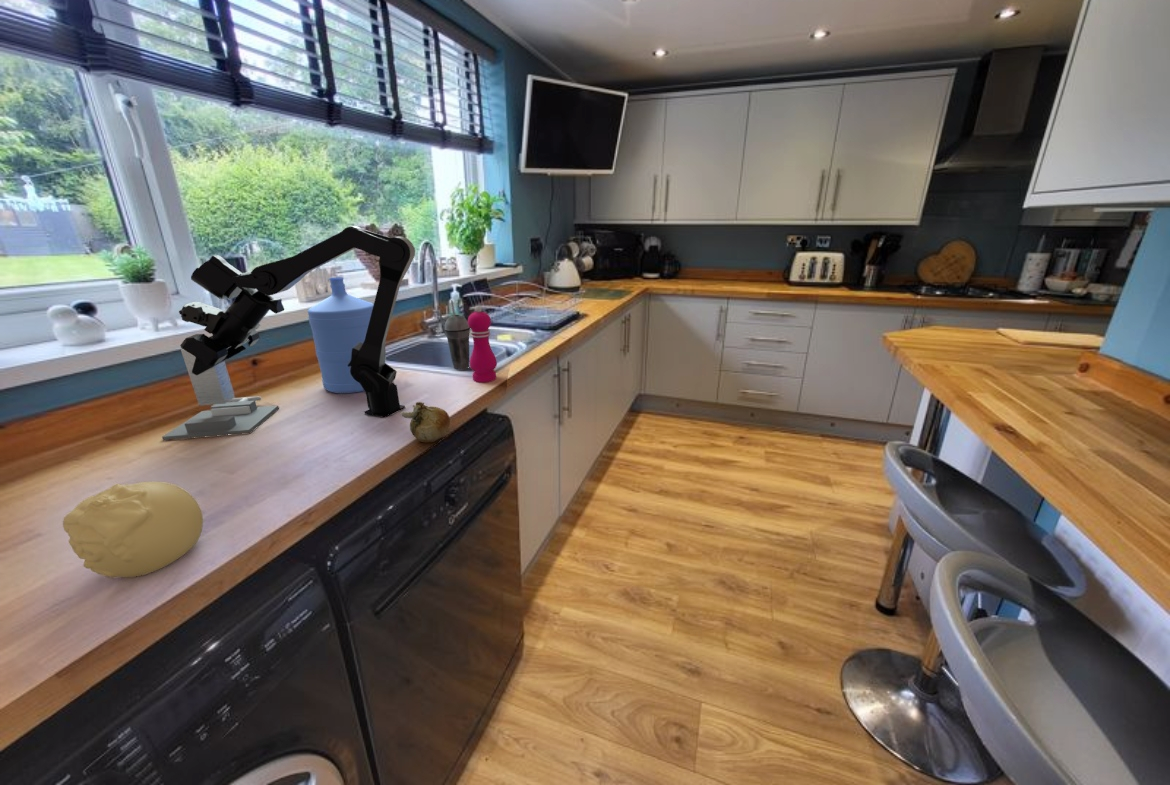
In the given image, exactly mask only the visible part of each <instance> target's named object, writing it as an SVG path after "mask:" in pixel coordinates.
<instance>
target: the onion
mask: <svg viewBox="0 0 1170 785" xmlns="http://www.w3.org/2000/svg"><path fill="white" fill-rule="evenodd" d="M412 408H413V410H412V411H401V412H400V415H401V416H400V417H402V418H405V419H411V420H410V422H409V430H410V432H411V434H412V436H413V437H414V438H415V439H416V440H417V441H419V442H422V443H433V442H436V441H438V440H440V439H441V438H443V437H444V436H445V435H446V434H447V432H449V431H448V430H449V429H450V424H451V418H450V415H449V414H448V412H447V411H446V410H445V409H443V408H441V407H437V406H432V405H431V406H427V405H425V402H422V401H418V402H415V405H414V404H413V405H412Z"/></svg>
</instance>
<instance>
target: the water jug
mask: <svg viewBox="0 0 1170 785" xmlns="http://www.w3.org/2000/svg"><path fill="white" fill-rule="evenodd" d="M328 279H329V281H330V289H331V295H330V296H328V297H327V298H325V299H323V300H321V301H319V302H318V303H316V304H315V305H313V306H311V307H310V308H308V310H307V315H308V323H309V326H310V329H311V334H312V338H313V341H314V347H315V355H316V358H317V360H318V364H319V365H318V366H319V369H320V374H321V381H322V385H323V388H324V389H325V390H326V391H328V392H330V393H334V394H351V393H352V394H353V393H361V392H365V391H364V389H363V387H362V386H361V384H360V383H359V382H357V381H356V380H355V379H354V378H353V377H352V376H351V373H350V368H351V366H349V367H348V364H349V363H350V361H351V355H352V349H353V348H354V347H355V346H356V345H357V344H358V343H359V342H361V343H364V341H365V337H366V333H367V329H368V325H369V321H370V317H371V313H372V309H373V305H374V302H370V301H367V300H364V299H362V298H359V297H355V296H353V295H351V294H349V293H348V292H347V291H346V285H345V283H344V277H343V276H342V277H341V276H340V277H339V276H338V277H337V276H336V277H329V278H328Z"/></svg>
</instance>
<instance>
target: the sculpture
mask: <svg viewBox="0 0 1170 785" xmlns="http://www.w3.org/2000/svg"><path fill="white" fill-rule="evenodd" d="M62 526H63V530H64V532H66V533H67V535H68V536H69V539H68V544H69V545H70V547H71V548H72V551H73V552H74V554H75V555H76V556H77V557H78V558H79V559H81V560H84V562H83V567H84V568H85V569H89V570H90V571H91V572H93V573H96V574H97V575H101V576H105V577H106V578H137V577H141V575H142V576H145V574H146V575H148V573H149V574H151V572H152V573H153V572H157V571H158V570H159V571H160V570H161V569H162V568H165V567H167V566H169V565H170V564H172V563H173V562H175V561H177V560H178V559H179V558H181V557H183V555H185V554H186V553H188V552H189V551H190V550H191V549H192V548H193V547H194V546H195V544H197V542H198V541H199V539H200V536H201V534H202V531H203V527H204V517H203V512H202V508H201V507H200V504H199V502H198V501H197V500H196V498H195V497H193V495H191V493H190V492H189V491H187V490H186V489H184V488H182V487H181V486H178V485H177V484H174V483H173V484H172V483H169V482H164V481H143V482H136V483H132V484H120V483H116V484H113V485H112V486H111V487H109V488H107V489H105V490H101V491H100V492H98V493H96V494H94V495H92V496H89V497H87V498H85V499H83V500H81V502H79V503H78V504H77V505H76V506H75V508H73V510H72V511H70V512H68V513H67V514H65V516H64V517H63V520H62ZM136 576H137V577H136Z"/></svg>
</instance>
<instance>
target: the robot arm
mask: <svg viewBox="0 0 1170 785" xmlns="http://www.w3.org/2000/svg"><path fill="white" fill-rule="evenodd" d="M415 248H416V247H415V246H414V244H413V242H412V241H410V239H408V238H406V237H404V236H392V237H389V236H387V235H383V234H381V233H376V232H372V231H370V230H367V229H363V228H362V227H360V226H347V227H345V228H343V229H342V230H341V231H339V232H338V233H336V234H334V235H332V236H330V237H328V238H327V239H324V240H321V241H320V242H319V243H316V244H314V245H313V246H311V247H309V248H306V249H305V250H303V251H301V252H299V253H297V254H295V255H293V256H290V257H286V258H283V259H278V260H275V261H272V262H271V261H270V262H268V263H264V264H261V265H258V266H256V267H254V268H253V269H252V271H246V272H242V271H240V270H238V269H237V268H235V267H234V266H233V265H231V264H230V263H229V262H227V260H226V259H225V258H224V257H222V256H221V255H218V254H217V255H212V256H211V257H210V258H209V259H207V260H206V261H205V262H203V263H202V264H201V265H200V266H199V267H196V268H195V269H193V270H194V271H193V272H192V274H191V275H190V280H191V281H192V282H194V283H196V284H197V285H198V286H200V287H202V289H204V290H206V291H207V292H209V294H212V295H213V296H214V297H216V298H218V299H219V300H223V299H225V298H227V299H228V300H233V298H234V300H233V301H232V302H231V304H230V305H229V306H228V308H227V309H225V310H224V309H221V308H218V307H215V306H212V305H210V304H207V303H203V302H200V301H193V302H192V301H191V302H189V303H185V304H184V305H183V306H182V309H180V310H179V311H178V313H179V315H181V316H180V317H181V320H182V321H184V322H186V323H191V324H192V323H193V324H195V325H199V326H202V327H205V328H204V330H203V331H205V332H206V333H208V334H212V335H210V336H208V335H206V334H205V333H196V334H192V335H191V336H188V337H186V338H184V340H183V341H182V342H181V344H180V349H181V350H182V349H184V350H185V351H187V352H189V353H190V354H192V355H194V356H195V357H196V358H195V362H194V366H193V369H192V373H193V374H195V375H199V374H201V373H203V372H204V371H206V370H208V369H210V368H212V367H214V366H216V365H217V364H219V363H221V362H223V361H228V360H229V359H231V358H233V357H234V356H236V355H238V354H240V353H243V351H245V350H247V349H246V347H245V346H243V345H245V344H246V345H247V346H248V347H252V346H254V345H256V344H257V342H258V341H259V340H260V338H261V337H260V334H259V332H258V331H257V330H258V329H259V328H260V326H261V324H260V323H261V321H262V320H263V319H264V318H265V317H266V316H267V314H268V313H269V311H271V312H272V313H274V314H279V313H282V312H284V310H285V308H284V305H283V303H282V302H283V301H282V298H274V297H272V296H273V295H276V294H279V293H282V292H283V293H284V292H286V291H288V290H290V289H291V288H292V287H293V286H295V285H296V284H297V283H299V282H300V281H301V280H302V279H303V278H304V277H306V275H308V274H309V273H310V272H311V271H313V270H315V269H318V268H319V267H321V266H323V265H325V264H327V263H329V262H331V261H333V260H336V259H337V258H339V257H341V256H343V255H345V254H347V253H349V252H351V251H352V250H353V251H354V250H355V249H357V250H360V251H362V252H365V253H368V254H370V255H373V256H375V257H379V263H378V264H379V276H380V278H379V282H378V287H377V289H376V293H375V299H374V302H373V304H374V305H373V309H372V313H371V317H370V321H369V325H368V329H367V333H366V337H365V341H364V343H361V342H359V343H358V344H357V345H356V346H355V347H354V348H353V349H352V355H351V361H350V363H349V364H348V367H349V366H351V368H350V373H351V376H352V377H353V378H354V379H355V380H356V381H357V382H359V383H360V384H361V386H362V387H363V389H364V391H363V392H364V393H365V397H366V402H367V407H368V409H367V410H365V411H363V413H364V415H369V416H373V417H380V418H388V417H391V416H392V415H394V414H396V413H398V412H400V411H402V410H404V409H406V405H404V404H401V403H400V400H399V399H400V398H399V392H398V387H397V386H398V385H397V384H395V383H394V380H396V377H397V370H396V369H395V368H393V367H392V366H390V365H389V364H387V363H386V357H387V356H386V355H387V354H386V352H387V350H386V339H387V336H388V332H389V329H390V324H391V321H392V317H393V313H394V309H395V305H396V302H397V299H398V298H397V297H398V295H399V290H400V287H401V284H402V281H403V280H404V278H405V275H406V274H407V272H408V271H409V268H410V266H411V265H412V262H413V261H414V259H415V256H416V249H415Z"/></svg>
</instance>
